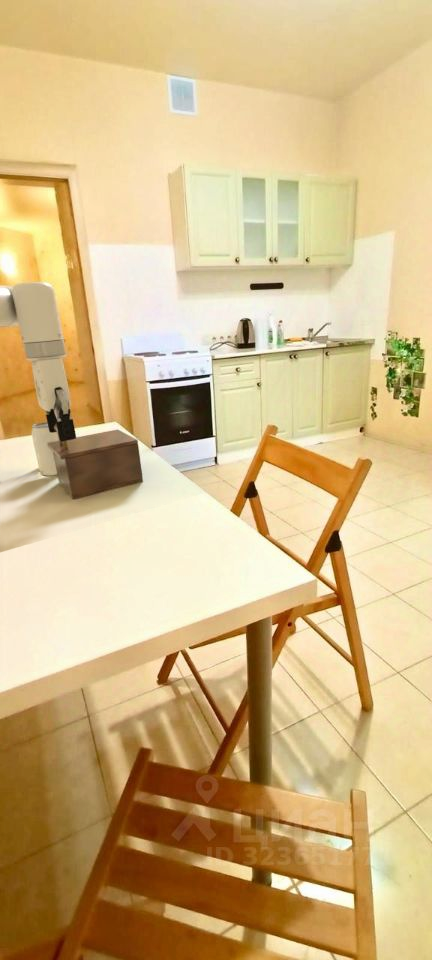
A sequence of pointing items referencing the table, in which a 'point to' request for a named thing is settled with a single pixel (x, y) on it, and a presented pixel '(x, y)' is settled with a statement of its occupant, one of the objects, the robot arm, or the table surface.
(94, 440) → the lid
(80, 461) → the chest
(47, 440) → the can
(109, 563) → the table surface
